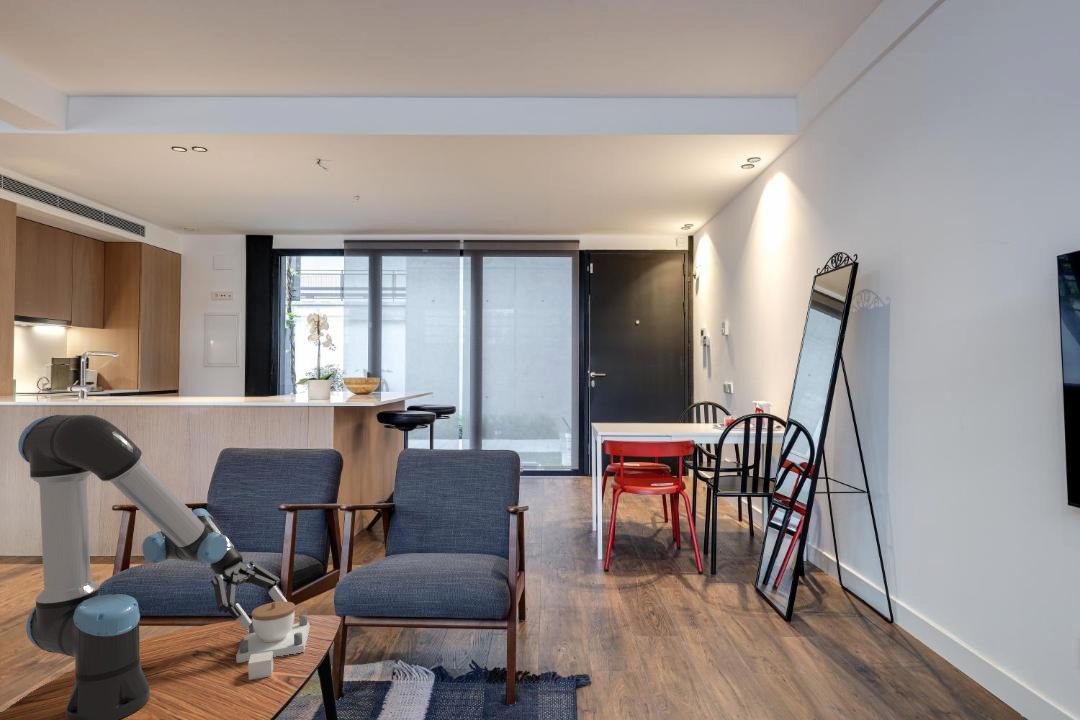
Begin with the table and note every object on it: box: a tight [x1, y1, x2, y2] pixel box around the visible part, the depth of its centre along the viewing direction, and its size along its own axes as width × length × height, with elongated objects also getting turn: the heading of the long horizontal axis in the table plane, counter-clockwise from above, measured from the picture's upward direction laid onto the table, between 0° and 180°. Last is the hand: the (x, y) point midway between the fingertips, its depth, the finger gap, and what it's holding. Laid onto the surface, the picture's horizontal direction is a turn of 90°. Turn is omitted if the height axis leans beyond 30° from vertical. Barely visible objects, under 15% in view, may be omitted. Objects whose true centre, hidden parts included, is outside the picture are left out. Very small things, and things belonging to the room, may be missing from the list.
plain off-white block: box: [247, 651, 274, 681], centre depth 149 cm, size 5×5×4 cm
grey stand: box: [235, 613, 311, 664], centre depth 164 cm, size 16×16×4 cm
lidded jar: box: [251, 601, 296, 643], centre depth 164 cm, size 11×11×9 cm
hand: (267, 616), depth 164 cm, fingers open, 13 cm apart
